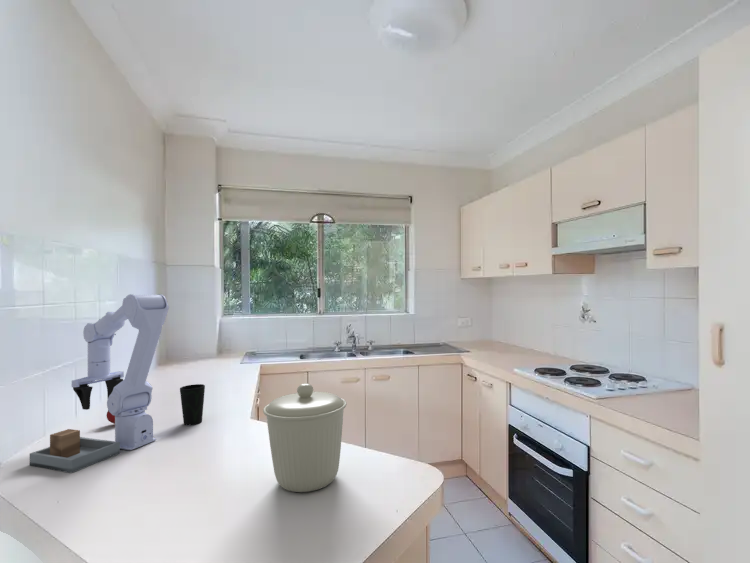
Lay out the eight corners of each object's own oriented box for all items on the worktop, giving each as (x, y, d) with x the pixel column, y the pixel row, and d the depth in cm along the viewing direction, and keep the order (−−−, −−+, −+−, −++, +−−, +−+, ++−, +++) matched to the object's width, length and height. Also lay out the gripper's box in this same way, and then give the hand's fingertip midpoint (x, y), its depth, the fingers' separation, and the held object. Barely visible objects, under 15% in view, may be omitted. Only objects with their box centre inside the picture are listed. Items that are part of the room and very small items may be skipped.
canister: (249, 482, 83) (247, 385, 84) (317, 456, 95) (314, 372, 96) (294, 514, 70) (291, 398, 71) (365, 479, 82) (362, 381, 84)
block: (79, 453, 101) (79, 430, 102) (61, 459, 97) (61, 436, 97) (68, 451, 103) (68, 429, 103) (49, 458, 99) (50, 434, 99)
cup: (198, 426, 123) (198, 389, 124) (175, 426, 123) (175, 389, 124) (209, 418, 131) (208, 383, 131) (187, 419, 131) (187, 384, 131)
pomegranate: (110, 428, 124) (110, 403, 124) (103, 425, 127) (104, 401, 128) (130, 423, 128) (130, 399, 129) (123, 420, 132) (123, 397, 132)
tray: (119, 453, 102) (119, 442, 102) (71, 473, 91) (71, 460, 91) (79, 447, 108) (80, 436, 108) (29, 465, 96) (29, 453, 96)
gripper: (113, 357, 126) (113, 398, 125) (64, 365, 112) (64, 411, 111) (128, 358, 123) (128, 400, 123) (80, 365, 110) (80, 413, 109)
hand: (99, 405), depth 117 cm, fingers open, 7 cm apart
